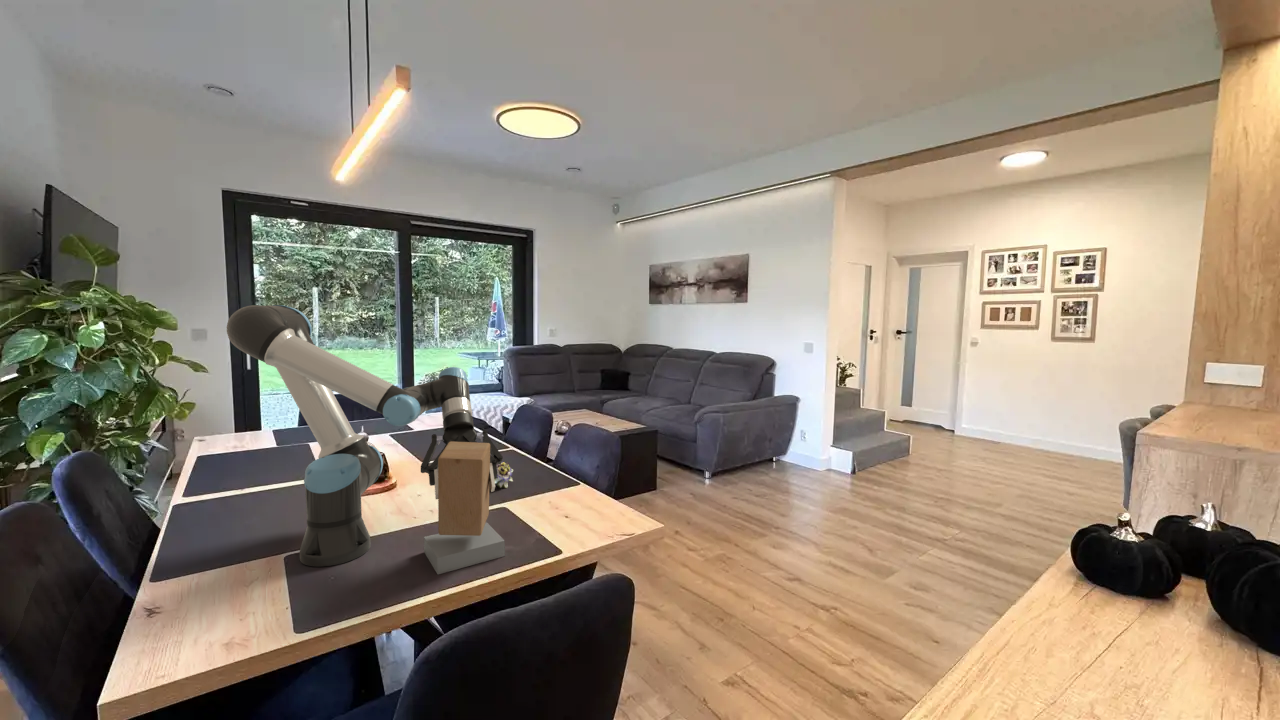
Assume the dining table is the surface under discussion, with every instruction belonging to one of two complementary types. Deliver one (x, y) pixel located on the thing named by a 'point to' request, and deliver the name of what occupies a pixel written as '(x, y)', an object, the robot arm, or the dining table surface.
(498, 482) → the passion flower
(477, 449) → the wooden block
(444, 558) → the plinth
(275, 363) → the robot arm
